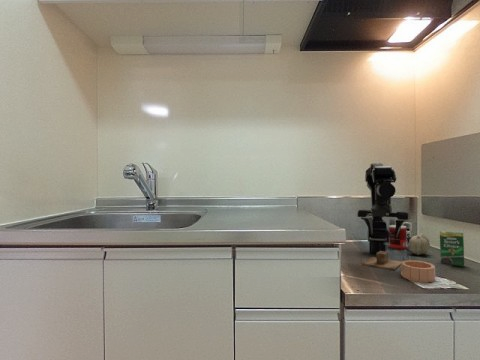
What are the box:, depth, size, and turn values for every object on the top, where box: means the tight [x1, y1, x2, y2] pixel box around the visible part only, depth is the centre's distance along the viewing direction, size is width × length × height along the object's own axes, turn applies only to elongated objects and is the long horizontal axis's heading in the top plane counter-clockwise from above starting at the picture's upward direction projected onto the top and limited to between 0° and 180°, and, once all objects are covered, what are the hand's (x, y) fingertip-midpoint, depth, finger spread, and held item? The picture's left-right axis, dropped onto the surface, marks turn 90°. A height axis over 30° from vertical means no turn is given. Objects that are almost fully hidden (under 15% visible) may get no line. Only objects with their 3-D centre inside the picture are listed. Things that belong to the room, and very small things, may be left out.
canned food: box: [388, 224, 407, 251], centre depth 149 cm, size 8×8×11 cm
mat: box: [359, 260, 401, 273], centre depth 120 cm, size 14×14×1 cm
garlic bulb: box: [408, 233, 431, 256], centre depth 136 cm, size 9×8×10 cm
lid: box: [361, 251, 402, 272], centre depth 120 cm, size 12×12×5 cm
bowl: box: [400, 259, 436, 283], centre depth 105 cm, size 10×10×5 cm
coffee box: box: [439, 231, 465, 268], centre depth 121 cm, size 8×3×13 cm, turn 51°
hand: (383, 235), depth 120 cm, fingers open, 9 cm apart
